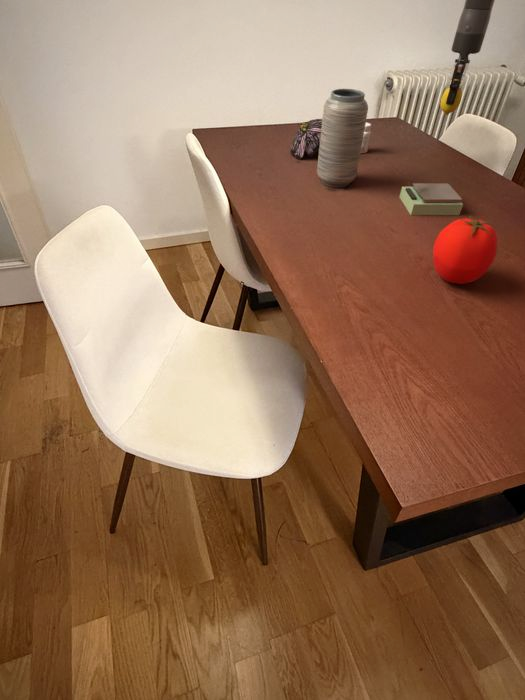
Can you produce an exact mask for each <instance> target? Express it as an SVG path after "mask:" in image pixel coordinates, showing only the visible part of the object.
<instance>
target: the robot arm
mask: <svg viewBox="0 0 525 700" xmlns="http://www.w3.org/2000/svg"><path fill="white" fill-rule="evenodd" d="M495 1H496V0H465V1H464V5H463V8H462V11H461V14H460V17H459V19H458V20H459V21H458V23H457V27H456V31H455V34H454V38H453V42H452V45H451V51H452V52H453V53H455V54H459V55H458V58H455V60H454V62H453V65H452V72H451V76H450V84H449V86H448V88H450V90H449V94H448V97H447V101H446V104H447V105H453V104H454V101H455V98H456V95H457V91H458V89H459V88H460V87H461V84H462V82H463V81H464V78H465V76H466V73H467V70H468V68H469V65H470V62H471V59H469V55H476V54H478V53H480V52H481V49H482V46H483V43H484V40H485V37H486V33H487V30H488V27H489V24H490V21H491V16H492V11H493V8H494V5H495Z"/></svg>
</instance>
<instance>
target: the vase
mask: <svg viewBox="0 0 525 700" xmlns="http://www.w3.org/2000/svg"><path fill="white" fill-rule="evenodd" d="M365 95H366V94H365V92H364V91H362V90H358V89H353V88H337V89H333V90H332V91H331V92H330V96H329V97H328V98H327V99H326V100H325V102H324V105H323V109H322V110H323V111H322V118H321V119H322V128H321V137H320V146H319V149H318V158H317V167H316V174H317V176H318V179H319V180H320V182H321V184H323V185H324V186H326V187H330V188H345V187H347V186H349V185H350V183H352V182H353V181H354V180H355V178H356V177H357V174H358V167H359V162H360V156H361V153H360V152H361V146H362V140H363V135H364V129H365V124H366V123H367V117H368V112H369V105H368V102H367V101H366V99H365V98H366V97H365Z"/></svg>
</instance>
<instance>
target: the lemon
mask: <svg viewBox="0 0 525 700" xmlns="http://www.w3.org/2000/svg"><path fill="white" fill-rule="evenodd" d="M449 90H450V88H449V87H447V88H446V89H445V90H444V92H443V93H442V95H441V99H440V103H439V105H440V109H441V111H442V112H443V113H444V115H446V116H449V114H451V113H453V112H455V111H456V110H457V109H458V108H459V106H460V104H461V101H462V96H463V91H462V89H461V88H460V87H459V89H458V91H457V95H456V98H455V101H454V104H453V105H447V104H446V101H447V97H448V94H449Z"/></svg>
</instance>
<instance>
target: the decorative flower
mask: <svg viewBox="0 0 525 700" xmlns="http://www.w3.org/2000/svg"><path fill="white" fill-rule="evenodd" d="M322 119H323V118H315V119H310V120H308V121H304V122H302V123H301V125H300V127H299V128H298V129H297V131H296V133H295V136H294V138H293V140H292V142H291V146H290V152H289V153H290V155H293V156H294V157H295V159H296V160H300V161H301V160H302V159H303V157H304V154H305V152H306V154H307V155H308V156H309V158H312V156H315V154H316V153H317V151H319V146H320V137H321V128H322Z"/></svg>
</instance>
